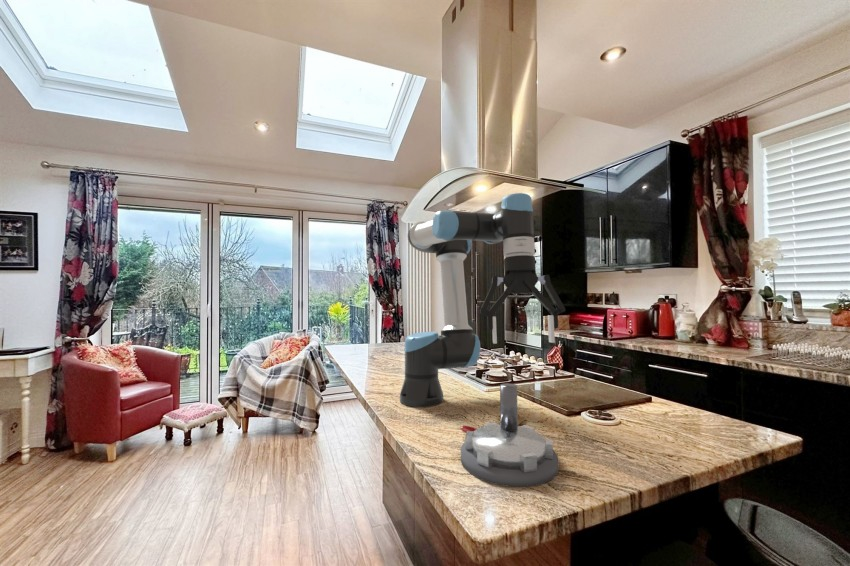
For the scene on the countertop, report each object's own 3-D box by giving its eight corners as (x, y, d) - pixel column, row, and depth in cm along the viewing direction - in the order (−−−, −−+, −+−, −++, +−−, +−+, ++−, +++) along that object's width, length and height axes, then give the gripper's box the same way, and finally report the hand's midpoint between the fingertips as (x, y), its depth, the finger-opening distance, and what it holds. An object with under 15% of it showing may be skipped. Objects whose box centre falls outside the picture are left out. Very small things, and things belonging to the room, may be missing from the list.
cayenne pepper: (456, 427, 101) (456, 420, 101) (471, 425, 102) (471, 418, 102) (474, 444, 89) (474, 437, 89) (490, 442, 90) (490, 434, 91)
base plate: (468, 437, 92) (468, 428, 92) (554, 446, 87) (554, 437, 87) (452, 478, 72) (452, 467, 72) (563, 493, 66) (563, 481, 66)
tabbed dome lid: (471, 432, 90) (471, 380, 91) (549, 439, 85) (549, 385, 86) (459, 464, 73) (459, 400, 74) (556, 476, 68) (555, 408, 69)
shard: (513, 433, 96) (513, 426, 96) (487, 427, 101) (487, 420, 101) (527, 421, 105) (527, 415, 105) (502, 416, 110) (502, 410, 110)
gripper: (469, 256, 86) (472, 344, 84) (575, 252, 84) (581, 343, 82) (468, 260, 94) (471, 342, 92) (566, 257, 91) (571, 340, 90)
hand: (523, 342), depth 87 cm, fingers open, 13 cm apart
